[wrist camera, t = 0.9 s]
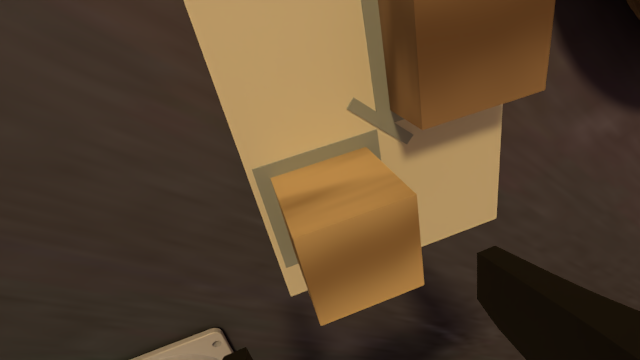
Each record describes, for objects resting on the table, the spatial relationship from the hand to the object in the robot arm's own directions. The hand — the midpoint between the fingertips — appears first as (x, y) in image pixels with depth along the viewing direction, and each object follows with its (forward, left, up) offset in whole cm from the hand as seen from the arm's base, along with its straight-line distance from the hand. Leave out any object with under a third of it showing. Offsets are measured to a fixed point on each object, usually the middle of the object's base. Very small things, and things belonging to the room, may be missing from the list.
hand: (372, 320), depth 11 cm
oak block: (-2, -1, -9) cm, 9 cm away
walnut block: (+5, -8, -9) cm, 13 cm away
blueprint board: (+2, -5, -9) cm, 11 cm away
